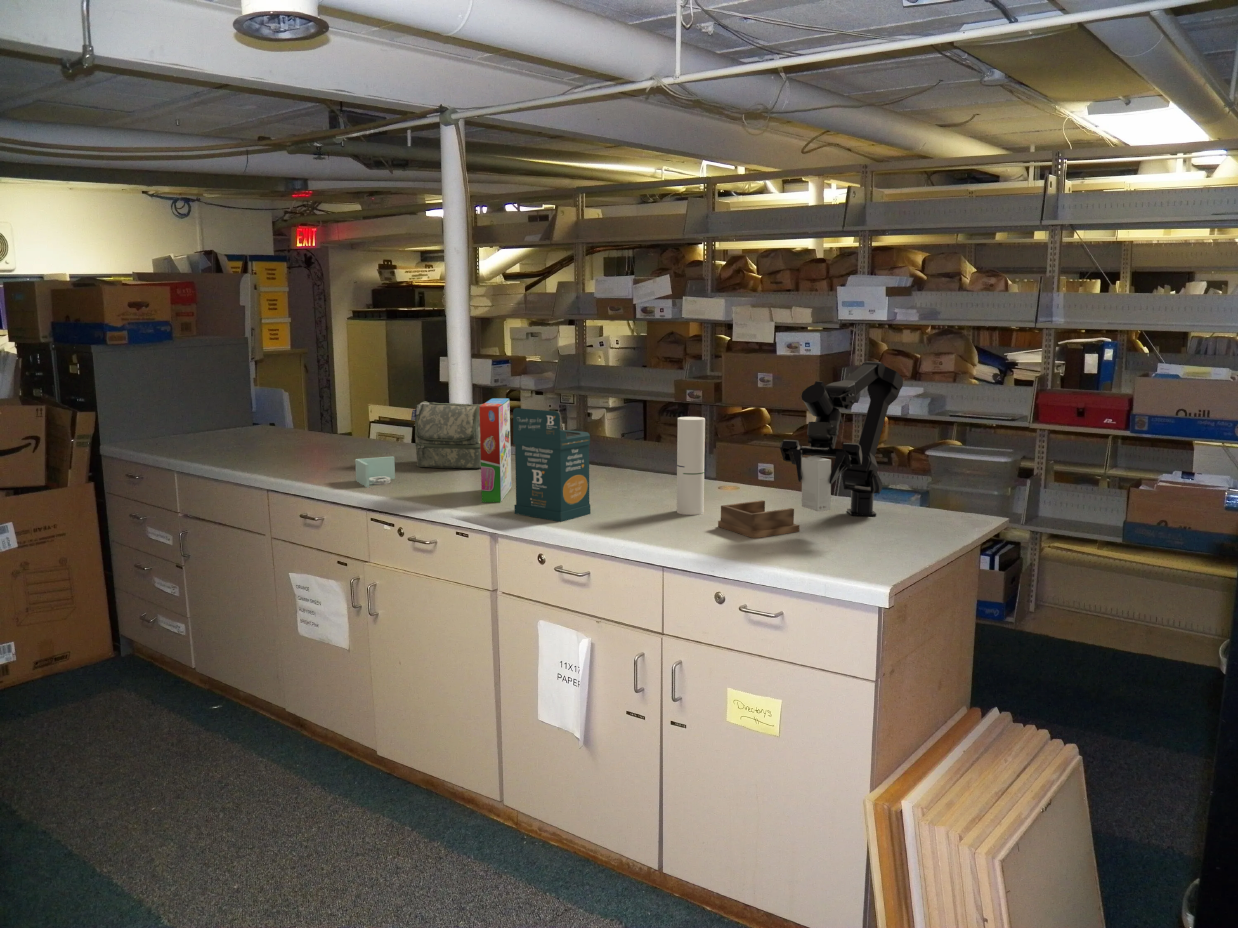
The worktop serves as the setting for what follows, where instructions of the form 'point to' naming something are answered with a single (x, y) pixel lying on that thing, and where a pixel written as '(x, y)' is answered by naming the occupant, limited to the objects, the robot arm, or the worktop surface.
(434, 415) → the lunch bag
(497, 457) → the game box
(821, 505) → the skincare box
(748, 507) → the box
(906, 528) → the worktop surface
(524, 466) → the donation box
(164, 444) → the worktop surface
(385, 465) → the l-shaped corner panel
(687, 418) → the cylindrical container
